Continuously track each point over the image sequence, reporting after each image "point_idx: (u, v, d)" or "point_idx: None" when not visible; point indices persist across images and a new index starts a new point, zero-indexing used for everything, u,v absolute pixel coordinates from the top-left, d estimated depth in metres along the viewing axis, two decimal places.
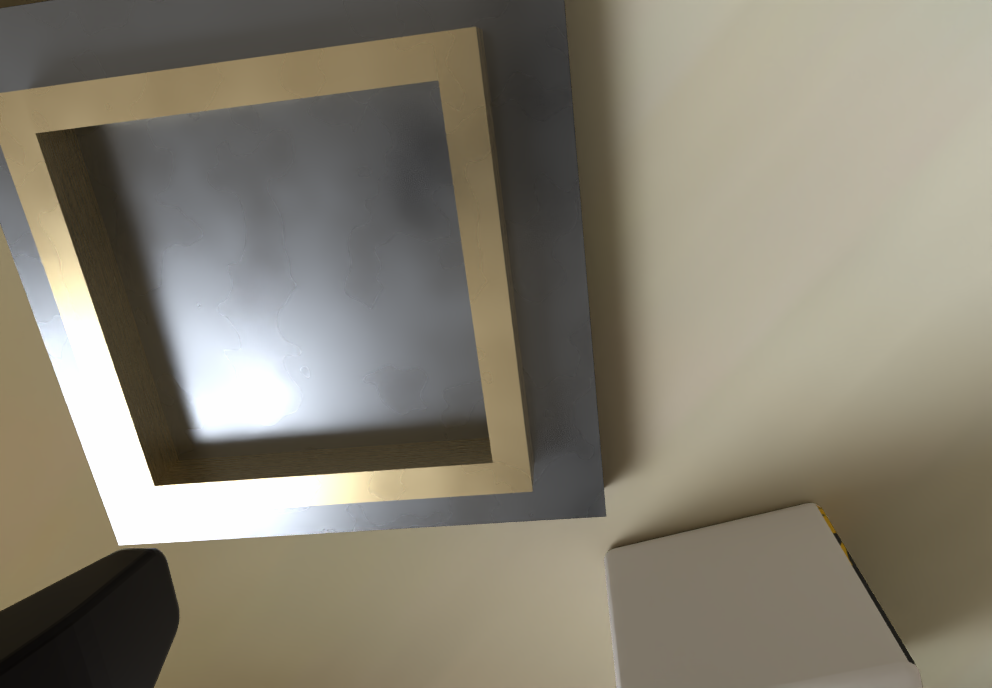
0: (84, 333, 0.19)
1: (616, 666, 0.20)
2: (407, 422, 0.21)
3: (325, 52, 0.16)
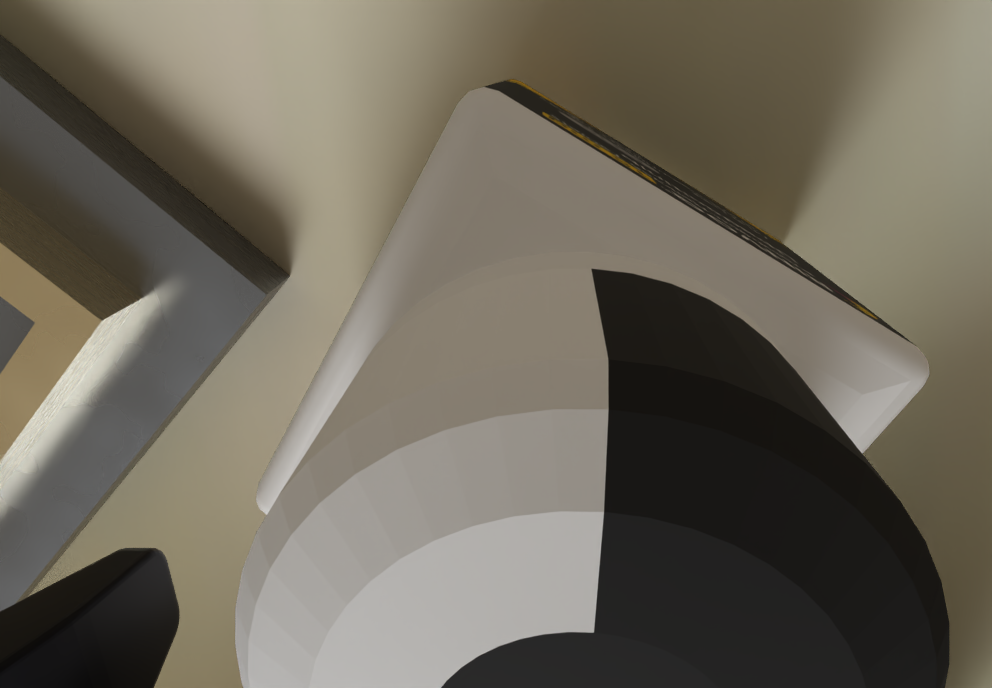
0: None
1: None
2: (0, 358, 0.17)
3: None
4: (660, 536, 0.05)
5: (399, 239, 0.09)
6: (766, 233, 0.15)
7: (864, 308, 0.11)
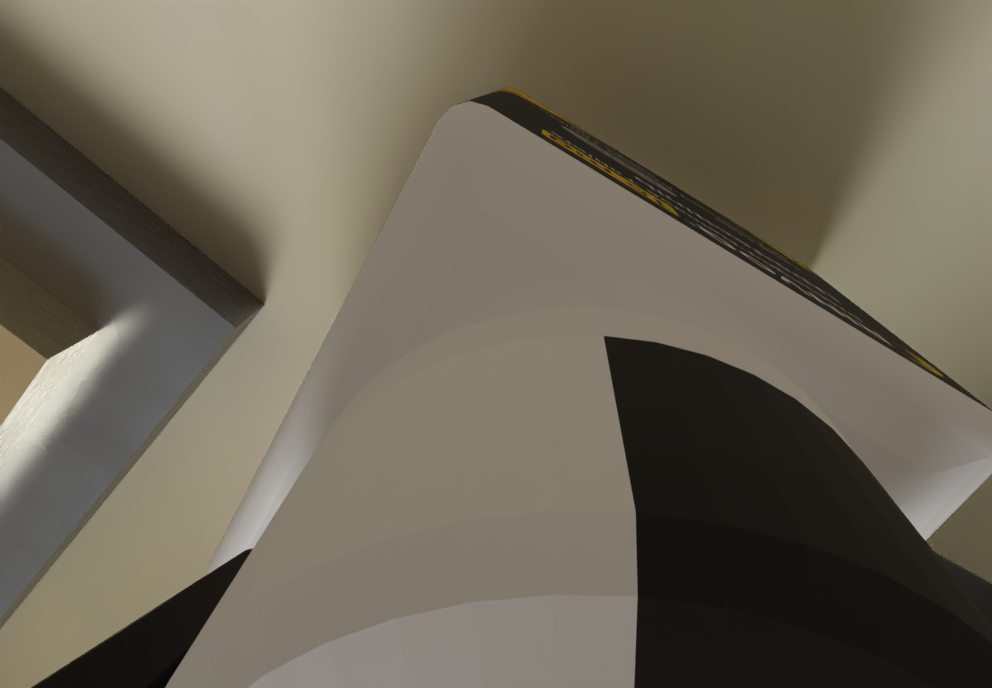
0: None
1: None
2: None
3: None
4: None
5: (367, 286, 0.08)
6: (794, 260, 0.13)
7: (924, 360, 0.09)
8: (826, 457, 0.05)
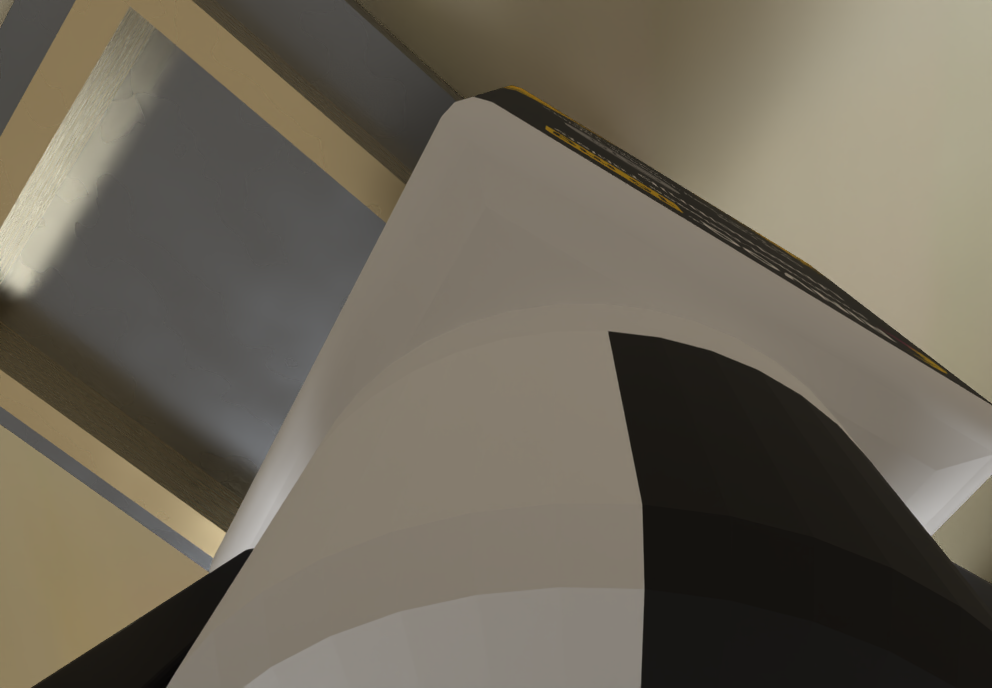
0: (100, 460, 0.20)
1: None
2: None
3: (43, 70, 0.16)
4: None
5: (370, 282, 0.08)
6: (797, 258, 0.13)
7: (927, 357, 0.09)
8: (831, 451, 0.05)
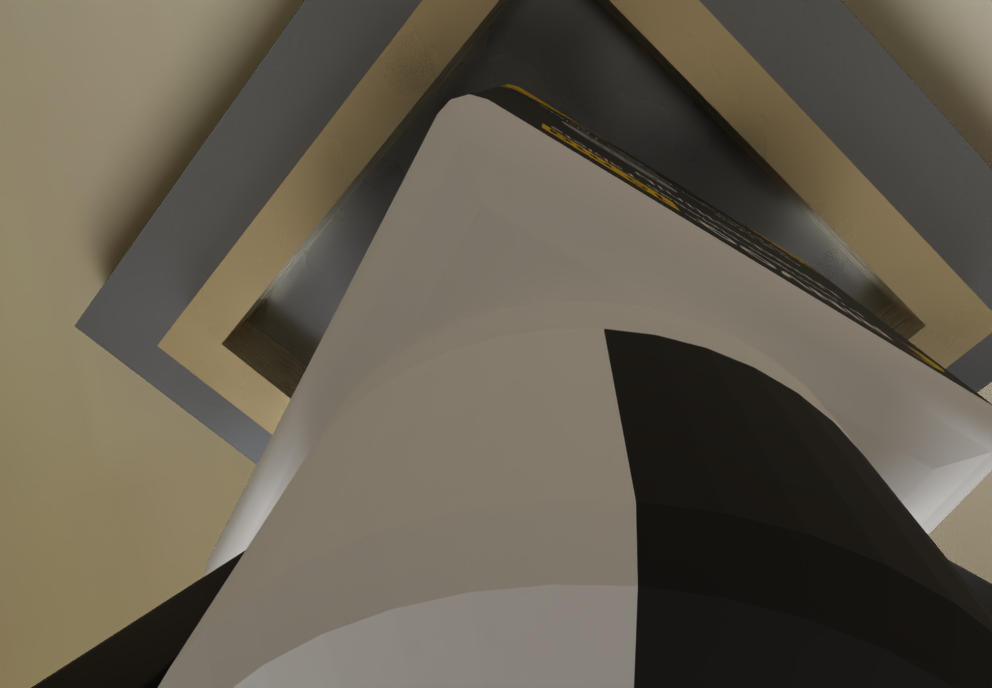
0: None
1: None
2: None
3: (414, 20, 0.13)
4: None
5: (366, 281, 0.08)
6: (795, 256, 0.13)
7: (925, 356, 0.09)
8: (827, 449, 0.05)
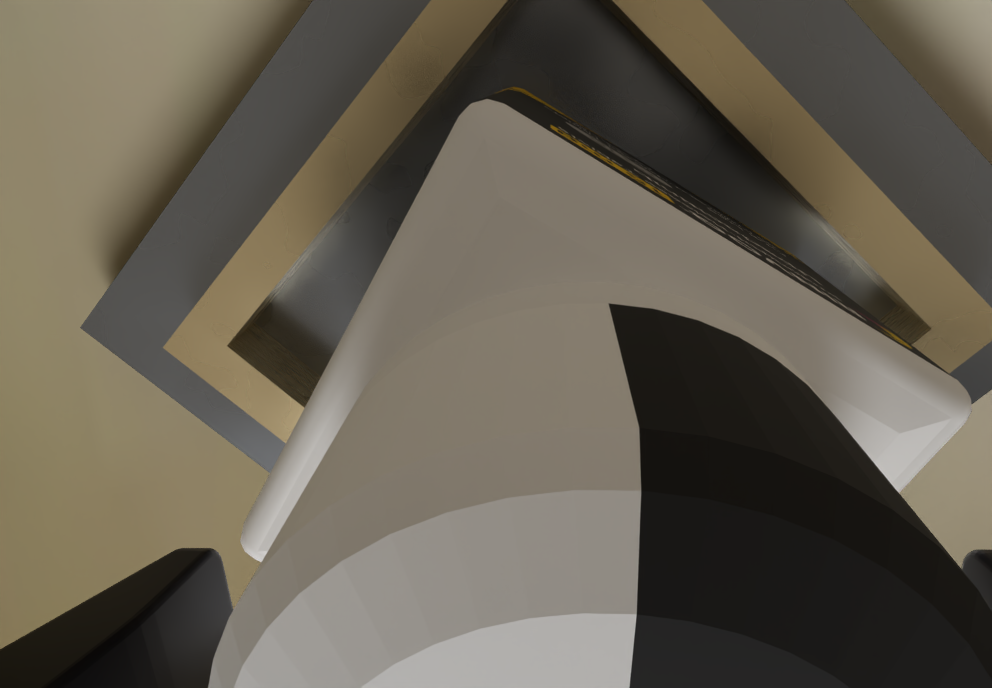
0: None
1: None
2: None
3: (420, 23, 0.13)
4: (702, 644, 0.04)
5: (394, 265, 0.08)
6: (782, 248, 0.14)
7: (896, 335, 0.10)
8: (797, 400, 0.06)
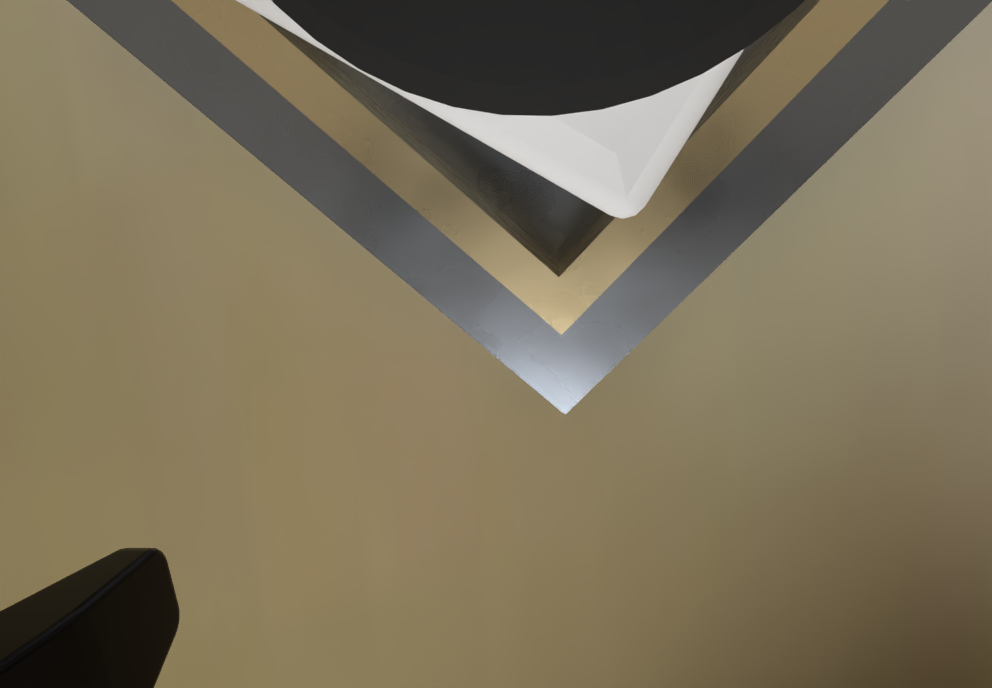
0: (380, 152, 0.16)
1: None
2: None
3: None
4: None
5: None
6: None
7: None
8: None
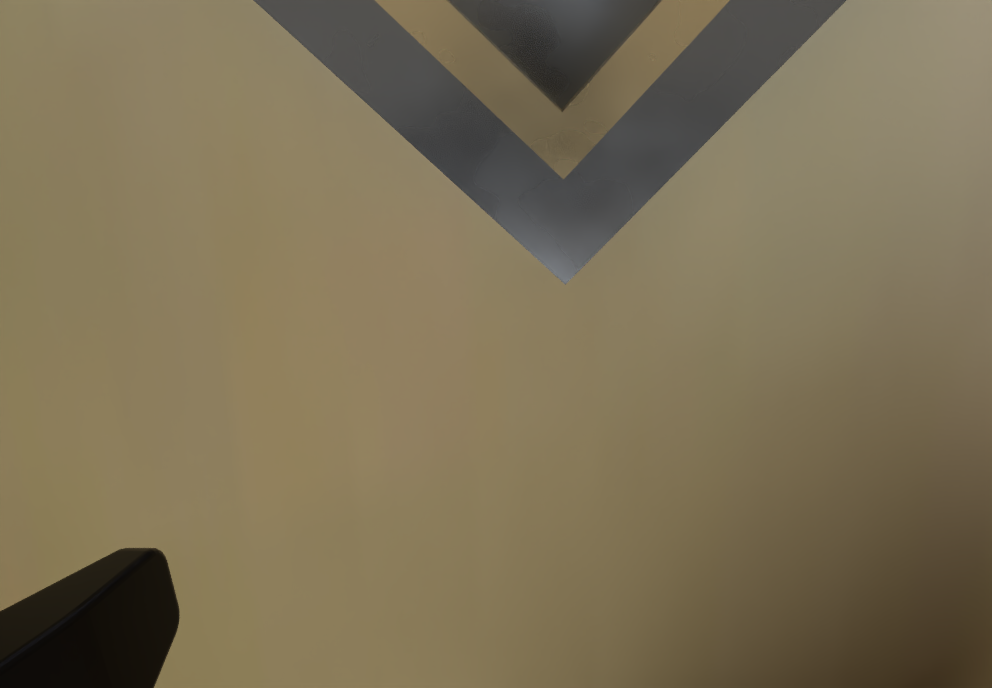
0: None
1: None
2: None
3: None
4: None
5: None
6: None
7: None
8: None
